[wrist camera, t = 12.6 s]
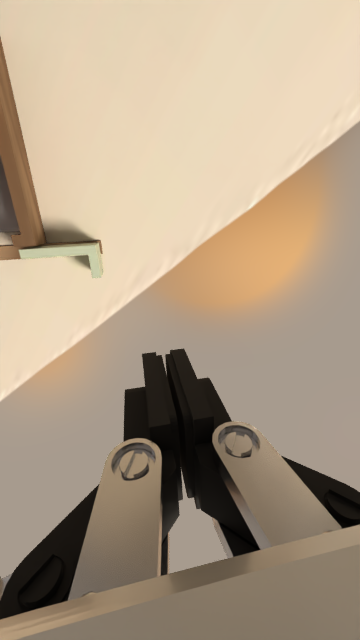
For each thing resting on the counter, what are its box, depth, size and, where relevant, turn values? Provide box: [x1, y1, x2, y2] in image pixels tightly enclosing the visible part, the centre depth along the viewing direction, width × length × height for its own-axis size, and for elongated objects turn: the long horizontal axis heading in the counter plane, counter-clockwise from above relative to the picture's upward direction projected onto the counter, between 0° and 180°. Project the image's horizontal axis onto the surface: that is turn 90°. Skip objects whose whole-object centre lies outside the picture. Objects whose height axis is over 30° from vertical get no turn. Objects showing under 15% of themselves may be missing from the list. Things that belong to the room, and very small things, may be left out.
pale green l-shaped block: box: [19, 243, 103, 278], centre depth 31 cm, size 8×4×4 cm, turn 93°
